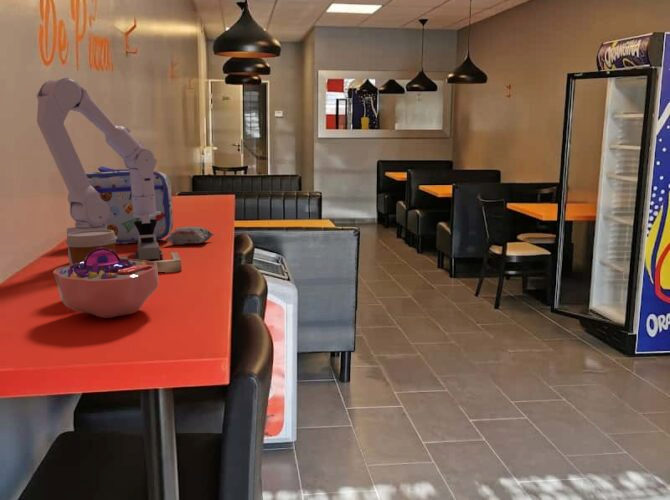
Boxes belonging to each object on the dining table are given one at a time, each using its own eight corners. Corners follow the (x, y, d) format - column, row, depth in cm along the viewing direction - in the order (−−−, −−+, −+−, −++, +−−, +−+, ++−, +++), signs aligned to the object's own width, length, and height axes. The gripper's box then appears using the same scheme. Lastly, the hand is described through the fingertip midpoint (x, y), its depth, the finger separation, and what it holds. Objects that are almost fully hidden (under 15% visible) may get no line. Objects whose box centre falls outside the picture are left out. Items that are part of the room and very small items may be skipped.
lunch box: (72, 247, 199) (64, 169, 196) (84, 241, 210) (76, 167, 206) (170, 243, 200) (164, 165, 197) (177, 237, 210) (171, 163, 207)
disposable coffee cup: (74, 301, 133) (68, 238, 131) (68, 292, 141) (61, 232, 139) (126, 294, 137) (120, 233, 135) (116, 285, 146) (111, 227, 144)
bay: (121, 276, 155) (120, 265, 155) (121, 267, 166) (120, 256, 166) (181, 271, 159) (180, 260, 158) (178, 262, 170) (177, 252, 169)
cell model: (61, 336, 110) (53, 264, 108) (55, 308, 128) (49, 247, 126) (171, 321, 116) (165, 253, 114) (151, 297, 134) (146, 238, 133)
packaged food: (204, 247, 192) (203, 228, 192) (162, 247, 194) (161, 229, 194) (214, 242, 201) (213, 225, 200) (175, 242, 203) (173, 225, 202)
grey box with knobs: (135, 262, 171) (134, 240, 170) (135, 256, 180) (133, 235, 179) (163, 260, 173) (161, 238, 172) (161, 254, 182) (159, 233, 181)
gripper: (160, 197, 176) (164, 250, 179) (158, 192, 190) (161, 242, 192) (131, 198, 174) (135, 253, 177) (130, 194, 188) (135, 244, 190)
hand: (147, 247), depth 184 cm, fingers closed
